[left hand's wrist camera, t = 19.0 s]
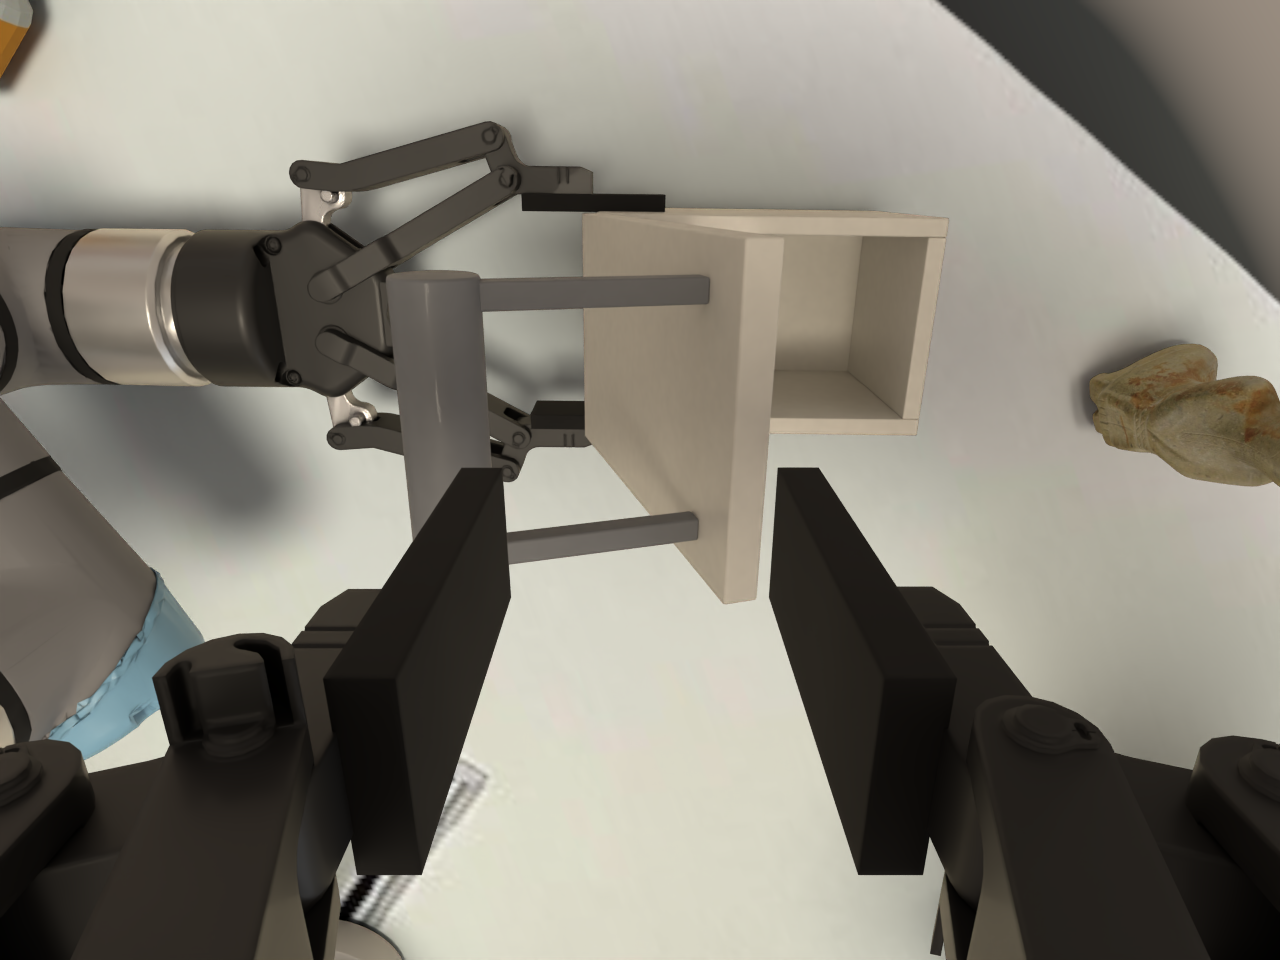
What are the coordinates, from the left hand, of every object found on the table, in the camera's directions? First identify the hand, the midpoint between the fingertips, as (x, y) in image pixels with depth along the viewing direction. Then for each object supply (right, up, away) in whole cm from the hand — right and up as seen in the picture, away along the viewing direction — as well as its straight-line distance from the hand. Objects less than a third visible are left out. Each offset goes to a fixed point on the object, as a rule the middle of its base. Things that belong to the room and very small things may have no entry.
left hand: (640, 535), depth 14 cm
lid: (+1, +5, +12) cm, 13 cm away
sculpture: (+30, +7, +32) cm, 44 cm away
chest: (+6, +12, +29) cm, 32 cm away
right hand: (+1, +9, +23) cm, 25 cm away
